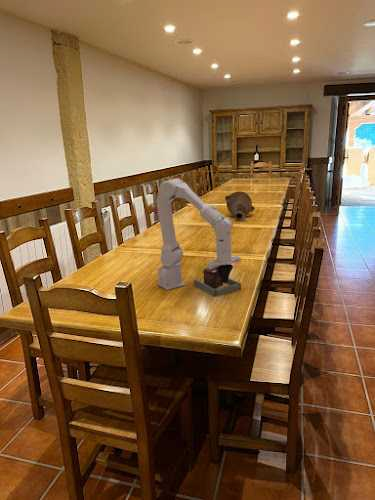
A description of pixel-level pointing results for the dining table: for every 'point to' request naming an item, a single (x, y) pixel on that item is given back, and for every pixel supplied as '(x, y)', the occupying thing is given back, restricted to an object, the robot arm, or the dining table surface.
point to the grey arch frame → (216, 292)
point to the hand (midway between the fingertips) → (224, 282)
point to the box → (212, 278)
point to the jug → (239, 205)
